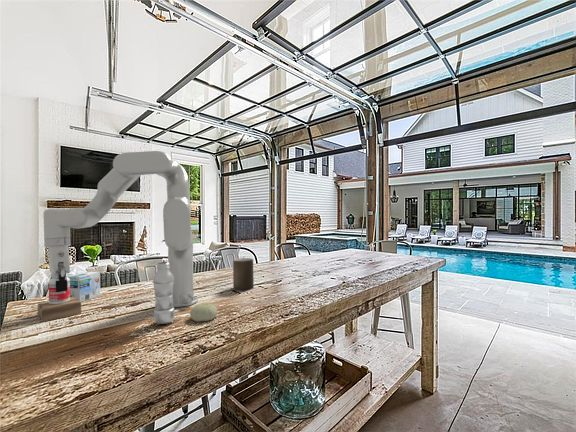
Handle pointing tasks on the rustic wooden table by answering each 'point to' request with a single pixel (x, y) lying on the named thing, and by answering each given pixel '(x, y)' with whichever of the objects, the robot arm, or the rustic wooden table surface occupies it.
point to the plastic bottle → (163, 294)
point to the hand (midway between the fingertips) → (59, 289)
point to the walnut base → (58, 309)
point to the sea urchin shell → (203, 312)
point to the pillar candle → (243, 274)
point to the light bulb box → (85, 285)
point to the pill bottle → (58, 296)
